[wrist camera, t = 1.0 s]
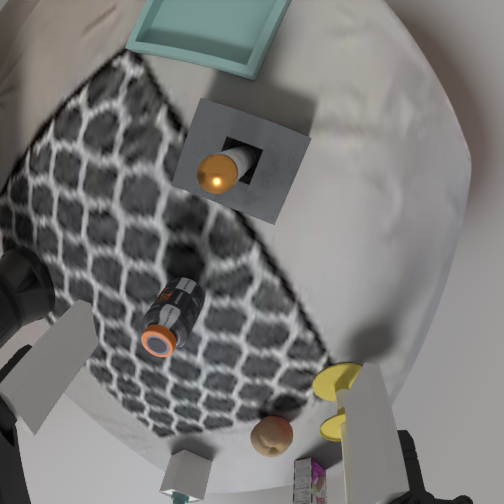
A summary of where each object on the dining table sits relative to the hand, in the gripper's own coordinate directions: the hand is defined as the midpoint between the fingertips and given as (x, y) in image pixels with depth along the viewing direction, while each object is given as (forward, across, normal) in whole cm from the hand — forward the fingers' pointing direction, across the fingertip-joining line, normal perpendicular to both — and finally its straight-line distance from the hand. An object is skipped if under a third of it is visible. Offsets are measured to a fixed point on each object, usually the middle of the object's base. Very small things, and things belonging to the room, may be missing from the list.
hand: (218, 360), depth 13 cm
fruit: (+25, +10, -40) cm, 48 cm away
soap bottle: (+25, -6, -68) cm, 73 cm away
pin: (+25, -3, +6) cm, 26 cm away
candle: (+25, +19, -26) cm, 41 cm away
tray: (+25, -10, +24) cm, 36 cm away
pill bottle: (+25, -8, -14) cm, 30 cm away
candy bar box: (+25, +24, -61) cm, 70 cm away
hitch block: (+25, -3, +6) cm, 26 cm away
